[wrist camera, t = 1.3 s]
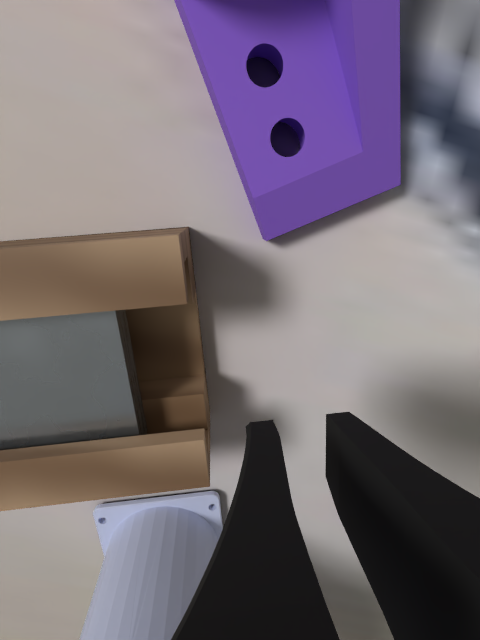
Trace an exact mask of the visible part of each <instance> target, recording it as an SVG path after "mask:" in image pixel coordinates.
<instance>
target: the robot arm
mask: <svg viewBox="0 0 480 640" xmlns="http://www.w3.org/2000/svg"><path fill="white" fill-rule="evenodd" d="M246 434H247V438H246V448H245V454H244V460H243V464H242V468H241V472H240V477H239V481H238V484H237V488H236V491H235V494H234V497H233V500H232V504H231V507H230V510H229V513H228V516H227V519H226V522H225V524H224V527H223V523H222V515H221V506H220V497H219V494H218V493H217V492H215V491H207V492H198V493H190V494H181V495H173V496H164V497H156V498H147V499H139V500H131V501H122V502H114V503H105V504H99V505H97V506H96V507H95V509H94V512H93V516H94V520H95V524H96V527H97V531H98V535H99V538H100V542H101V546H102V550H103V553H104V557H105V558H104V561H103V564H102V568H101V571H100V574H99V577H98V581H97V584H96V587H95V590H94V594H93V597H92V600H91V603H90V607H89V610H88V613H87V616H86V620H85V623H84V626H83V629H82V632H81V636H80V639H79V640H339V637H338V634H337V632H336V629H335V627H334V624H333V621H332V619H331V616H330V613H329V611H328V608H327V605H326V603H325V600H324V597H323V594H322V591H321V589H320V586H319V583H318V580H317V577H316V574H315V572H314V569H313V566H312V563H311V560H310V557H309V555H308V552H307V548H306V545H305V542H304V539H303V536H302V533H301V530H300V527H299V524H298V521H297V518H296V515H295V511H294V507H293V503H292V499H291V494H290V489H289V483H288V478H287V472H286V467H285V462H284V456H283V451H282V446H281V440H280V436H279V433H278V431H277V428H276V426H275V424H274V422H273V420H269V421H260V422H250V423H249V424H248V425H247V426H246ZM326 479H327V482H328V485H329V488H330V491H331V494H332V497H333V500H334V503H335V506H336V509H337V512H338V515H339V517H340V519H341V522H342V524H343V526H344V528H345V531H346V533H347V535H348V537H349V539H350V542H351V544H352V546H353V548H354V550H355V553H356V555H357V557H358V559H359V561H360V563H361V566H362V568H363V570H364V572H365V574H366V576H367V579H368V581H369V583H370V585H371V587H372V590H373V592H374V594H375V596H376V598H377V600H378V603H379V605H380V607H381V609H382V611H383V614H384V616H385V618H386V621H387V623H388V626H389V628H390V630H391V633H392V635H393V638H394V640H480V498H478V497H476V496H475V495H473V494H471V493H469V492H468V491H466V490H464V489H463V488H461V487H459V486H458V485H456V484H455V483H453V482H451V481H450V480H448V479H446V478H445V477H443V476H442V475H440V474H438V473H437V472H435V471H434V470H432V469H430V468H429V467H427V466H426V465H424V464H423V463H421V462H420V461H418V460H417V459H415V458H414V457H412V456H411V455H409V454H408V453H406V452H405V451H404V450H402V449H401V448H399V447H398V446H396V445H395V444H393V443H392V442H391V441H389V440H388V439H386V438H385V437H384V436H382V435H381V434H379V433H378V432H377V431H375V430H374V429H372V428H371V427H370V426H368V425H367V424H366V423H364V422H363V421H361V420H360V419H359V418H357V417H356V416H354V415H353V414H351V413H350V412H343V413H333V414H326ZM211 504H214V505H213V506H212V505H211Z"/></svg>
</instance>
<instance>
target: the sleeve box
mask: <svg viewBox="0 0 480 640" xmlns="http://www.w3.org/2000/svg"><path fill="white" fill-rule="evenodd" d="M116 310H125V311H126V317H127V322H128V327H129V333H130V338H131V344H132V349H133V354H134V360H135V365H136V371H137V376H138V381H139V387H140V392H141V398H142V403H143V408H144V414H145V419H146V425H147V433H146V435H138V436H129V437H120V438H111V439H101V440H92V441H83V442H74V443H65V444H55V445H46V446H37V447H28V448H19V449H9V450H0V511H5V510H14V509H22V508H31V507H39V506H48V505H56V504H65V503H73V502H82V501H90V500H99V499H107V498H116V497H124V496H133V495H141V494H150V493H158V492H167V491H175V490H184V489H192V488H201V487H209V486H210V408H209V399H208V390H207V381H206V373H205V364H204V355H203V347H202V338H201V329H200V320H199V312H198V303H197V294H196V286H195V277H194V268H193V259H192V251H191V242H190V233H189V227H181V228H168V229H155V230H142V231H130V232H117V233H104V234H91V235H78V236H65V237H52V238H39V239H27V240H14V241H1V242H0V321H4V320H15V319H26V318H37V317H48V316H60V315H71V314H82V313H93V312H104V311H116Z"/></svg>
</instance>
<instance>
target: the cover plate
mask: <svg viewBox="0 0 480 640" xmlns="http://www.w3.org/2000/svg"><path fill="white" fill-rule="evenodd" d="M146 433H147V425H146V419H145V414H144V408H143V403H142V398H141V392H140V387H139V381H138V376H137V371H136V365H135V360H134V354H133V349H132V344H131V338H130V333H129V327H128V322H127V317H126V311H125V310H116V311H104V312H93V313H82V314H71V315H60V316H48V317H37V318H26V319H15V320H4V321H0V450H9V449H19V448H28V447H37V446H46V445H55V444H65V443H74V442H83V441H92V440H101V439H111V438H120V437H129V436H138V435H146Z"/></svg>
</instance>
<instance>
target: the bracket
mask: <svg viewBox="0 0 480 640" xmlns="http://www.w3.org/2000/svg"><path fill="white" fill-rule="evenodd" d="M175 3H176V6H177V8H178V11H179V14H180V17H181V19H182V22H183V25H184V27H185V30H186V33H187V35H188V38H189V41H190V43H191V46H192V49H193V52H194V54H195V57H196V60H197V62H198V65H199V68H200V70H201V73H202V76H203V79H204V81H205V84H206V87H207V89H208V92H209V95H210V97H211V100H212V103H213V105H214V108H215V111H216V114H217V116H218V119H219V122H220V124H221V127H222V130H223V132H224V135H225V138H226V140H227V143H228V146H229V149H230V151H231V154H232V157H233V159H234V162H235V165H236V167H237V170H238V173H239V175H240V178H241V181H242V184H243V186H244V189H245V192H246V194H247V197H248V200H249V202H250V205H251V208H252V211H253V213H254V216H255V219H256V221H257V224H258V227H259V229H260V232H261V235H262V237H263V239H264V240H266V241H268V240H270V239H272V238H275V237H277V236H280V235H282V234H284V233H287V232H289V231H291V230H294V229H296V228H299V227H301V226H303V225H306V224H308V223H311V222H313V221H315V220H318V219H320V218H322V217H325V216H327V215H330V214H332V213H334V212H337V211H339V210H342V209H344V208H346V207H349V206H351V205H353V204H356V203H358V202H361V201H363V200H365V199H368V198H370V197H373V196H375V195H377V194H380V193H382V192H384V191H387V190H389V189H392V188H394V187H396V186H399V185H401V167H400V0H175ZM254 57H261V58H265V59H267V60H269V61H270V62H271V63H272V64H273V65H274V66H275V67H276V69H277V71H278V73H279V76H280V79H279V80H278V82H277V83H276V84H274V85H273V86H270V87H266V88H264V87H259V86H257V85H256V84H254V83H253V82H252V81H251V79H250V78H249V76H248V73H247V69H246V62H247V60H249V59H251V58H254ZM277 122H283V123H286V124H288V125H290V126H291V127H292V128H293V129H294V130H295V132H296V133H297V135H298V138H299V144H300V147H299V152H298V153H297V154H296V155H294V156H291V157H283V156H280V155H279V154H277V153H276V152H275V151H274V149H273V148H272V145H271V142H270V134H271V130H272V128H273V126H274V125H275V124H276V123H277Z"/></svg>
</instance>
